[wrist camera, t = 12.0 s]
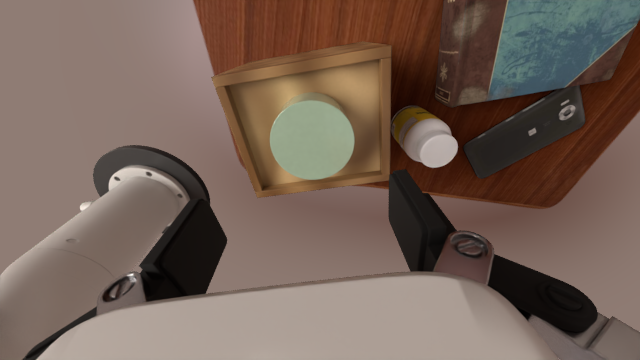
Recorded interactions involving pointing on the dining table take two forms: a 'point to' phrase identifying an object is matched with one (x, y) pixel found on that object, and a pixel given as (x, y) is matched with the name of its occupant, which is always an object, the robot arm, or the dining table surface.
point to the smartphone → (526, 131)
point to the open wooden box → (303, 77)
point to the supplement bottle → (423, 136)
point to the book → (528, 46)
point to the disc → (312, 136)
